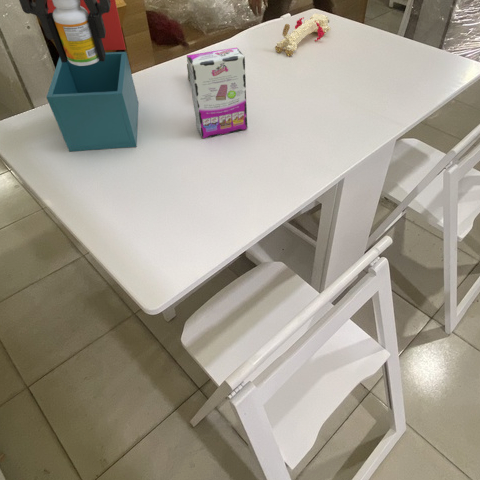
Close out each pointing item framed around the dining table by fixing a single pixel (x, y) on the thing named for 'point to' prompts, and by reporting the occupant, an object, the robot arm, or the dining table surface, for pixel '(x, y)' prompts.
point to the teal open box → (95, 103)
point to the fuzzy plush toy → (302, 32)
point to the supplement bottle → (75, 32)
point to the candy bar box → (218, 91)
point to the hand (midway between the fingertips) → (84, 58)
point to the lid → (111, 24)
